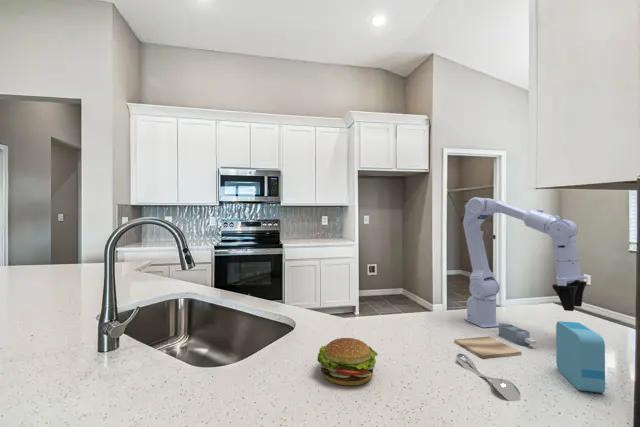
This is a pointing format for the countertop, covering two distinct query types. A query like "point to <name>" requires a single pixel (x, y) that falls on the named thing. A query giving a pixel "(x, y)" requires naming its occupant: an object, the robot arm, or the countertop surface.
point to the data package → (580, 356)
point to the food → (347, 361)
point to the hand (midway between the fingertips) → (572, 308)
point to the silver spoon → (493, 380)
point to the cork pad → (487, 347)
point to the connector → (515, 335)
